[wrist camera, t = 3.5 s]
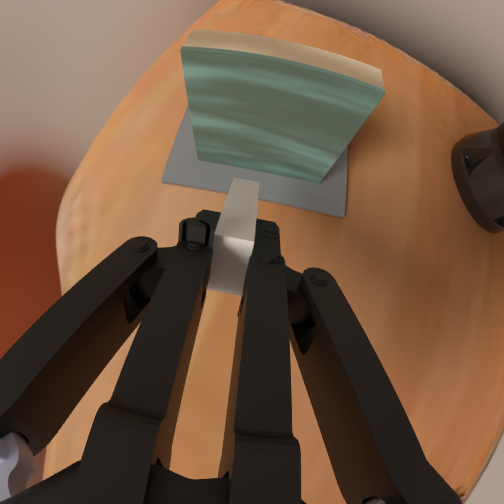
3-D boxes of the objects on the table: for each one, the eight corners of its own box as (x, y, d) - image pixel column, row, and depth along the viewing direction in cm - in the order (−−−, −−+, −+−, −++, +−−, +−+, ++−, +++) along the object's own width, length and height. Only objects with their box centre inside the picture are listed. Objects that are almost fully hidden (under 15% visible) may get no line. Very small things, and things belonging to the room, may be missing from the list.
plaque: (204, 140, 27) (193, 29, 13) (320, 163, 27) (380, 69, 14) (197, 160, 26) (180, 50, 13) (318, 184, 27) (385, 93, 13)
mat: (216, 45, 30) (216, 42, 30) (345, 72, 31) (346, 69, 31) (162, 183, 26) (161, 180, 26) (342, 218, 27) (344, 216, 26)
